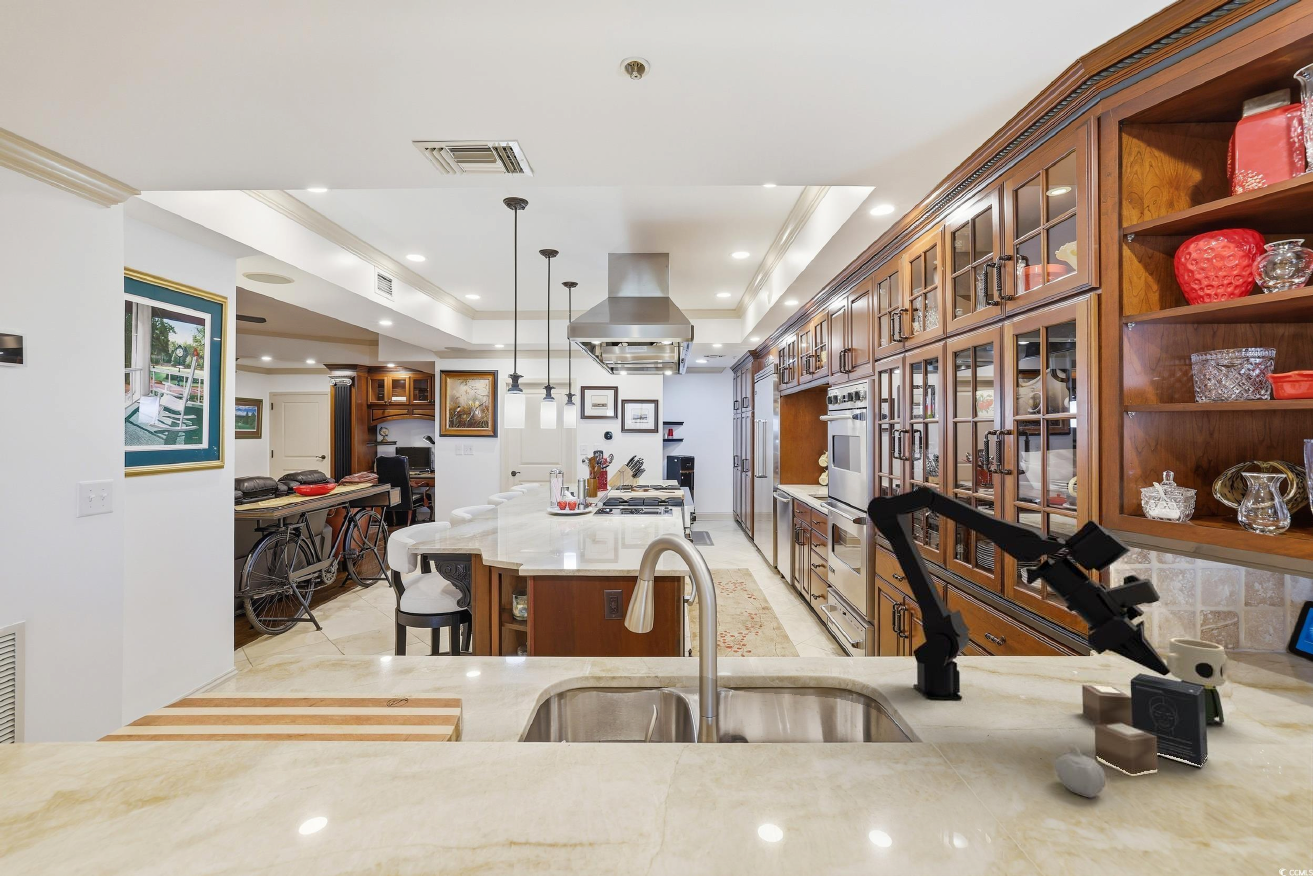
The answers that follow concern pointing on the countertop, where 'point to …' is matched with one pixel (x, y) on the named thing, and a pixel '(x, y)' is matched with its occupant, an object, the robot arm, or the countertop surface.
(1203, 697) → the box
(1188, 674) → the character mug
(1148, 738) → the walnut cube near
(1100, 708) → the walnut cube far
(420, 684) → the countertop surface
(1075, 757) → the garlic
